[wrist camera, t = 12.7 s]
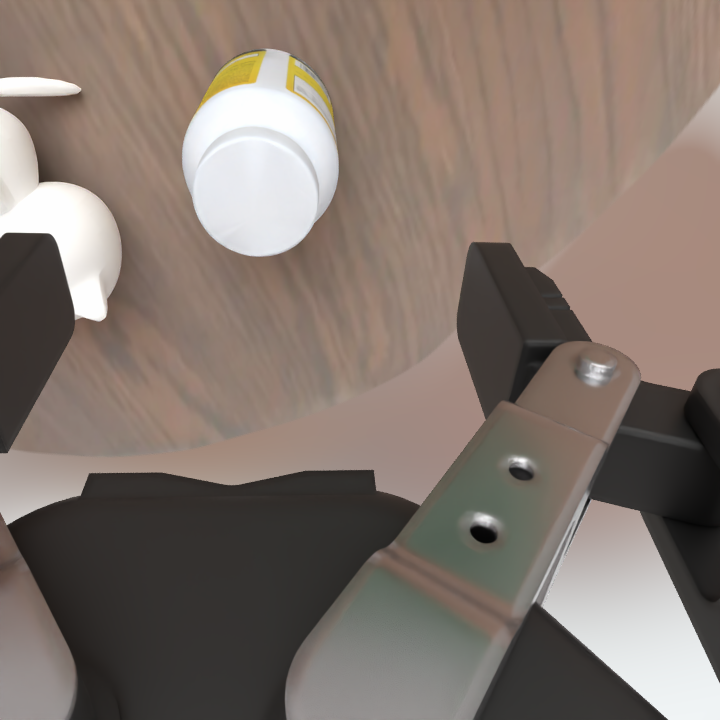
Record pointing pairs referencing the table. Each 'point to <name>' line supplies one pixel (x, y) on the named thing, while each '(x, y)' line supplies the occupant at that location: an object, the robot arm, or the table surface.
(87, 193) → the cat figurine
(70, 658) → the robot arm
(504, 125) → the table surface
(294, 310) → the table surface
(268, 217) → the pill bottle
